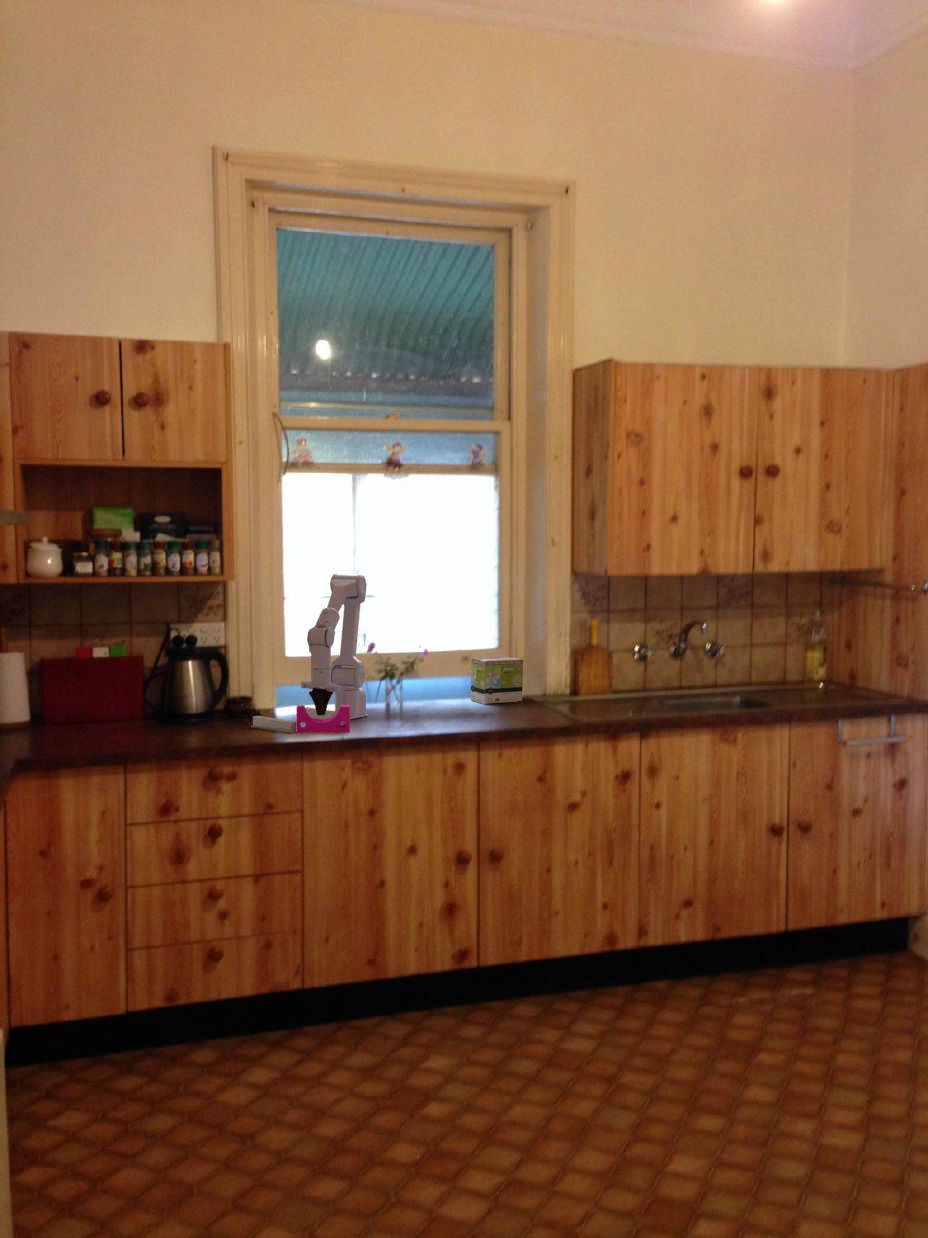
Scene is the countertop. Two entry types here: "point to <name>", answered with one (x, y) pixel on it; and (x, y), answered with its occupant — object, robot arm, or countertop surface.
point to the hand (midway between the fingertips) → (321, 714)
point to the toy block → (323, 721)
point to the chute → (286, 721)
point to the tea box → (496, 680)
